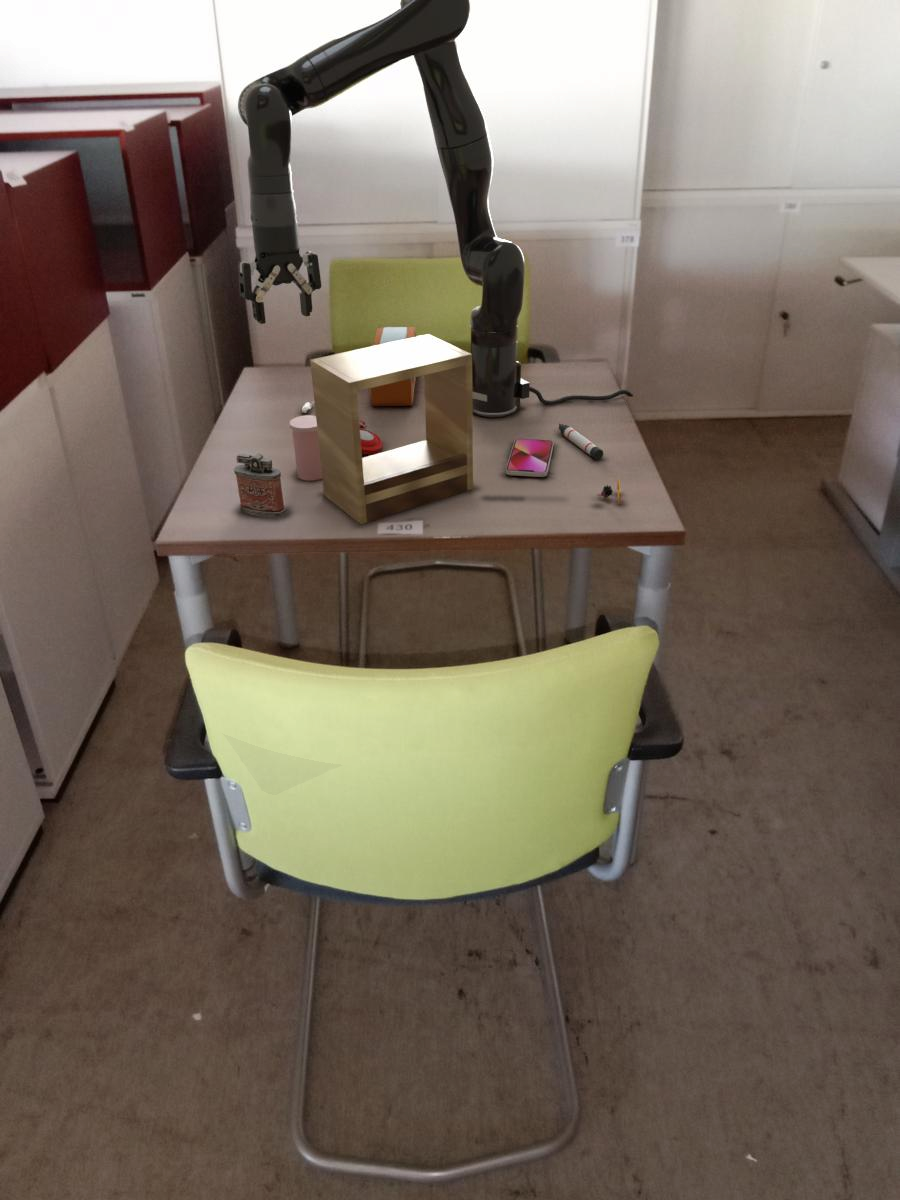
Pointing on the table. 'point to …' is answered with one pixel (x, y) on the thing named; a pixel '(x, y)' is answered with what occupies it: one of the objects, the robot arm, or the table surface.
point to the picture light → (307, 407)
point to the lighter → (259, 486)
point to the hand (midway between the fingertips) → (284, 319)
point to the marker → (581, 441)
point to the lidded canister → (306, 447)
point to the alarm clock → (396, 391)
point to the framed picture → (610, 491)
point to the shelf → (408, 469)
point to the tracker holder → (369, 441)
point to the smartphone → (530, 457)
